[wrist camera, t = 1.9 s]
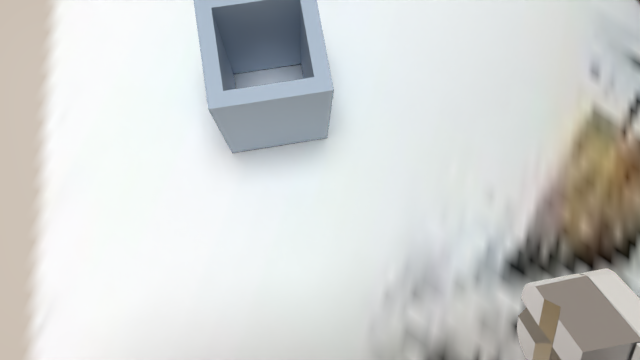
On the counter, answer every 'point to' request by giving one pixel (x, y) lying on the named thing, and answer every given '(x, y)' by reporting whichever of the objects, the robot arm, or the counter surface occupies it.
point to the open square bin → (258, 54)
